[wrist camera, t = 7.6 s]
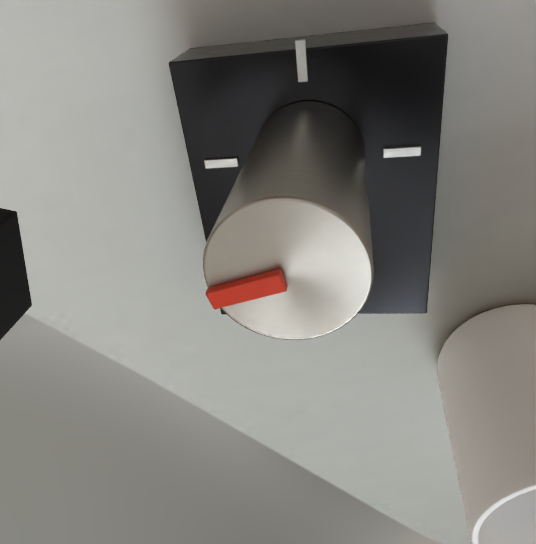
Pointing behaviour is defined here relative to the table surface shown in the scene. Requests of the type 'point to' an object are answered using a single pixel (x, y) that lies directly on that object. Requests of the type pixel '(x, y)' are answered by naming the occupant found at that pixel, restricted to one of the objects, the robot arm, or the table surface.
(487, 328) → the mug
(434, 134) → the stove panel
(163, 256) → the table surface
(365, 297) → the stove knob
